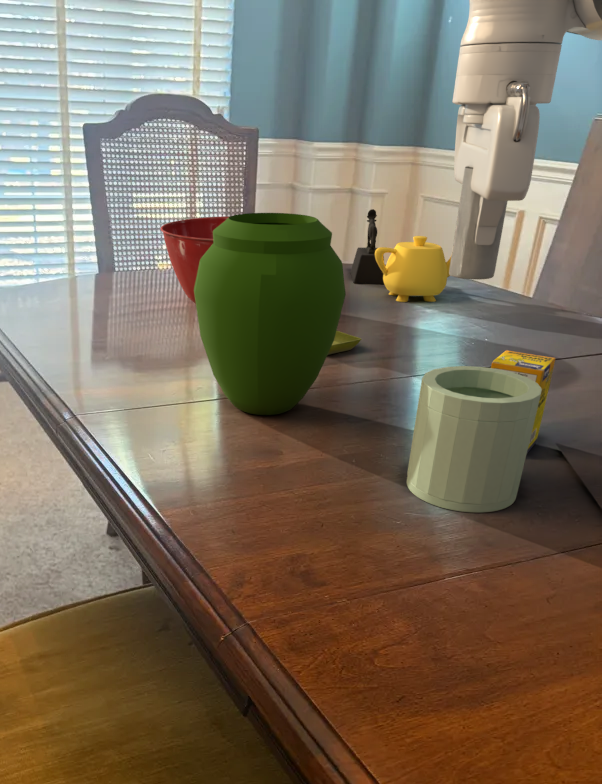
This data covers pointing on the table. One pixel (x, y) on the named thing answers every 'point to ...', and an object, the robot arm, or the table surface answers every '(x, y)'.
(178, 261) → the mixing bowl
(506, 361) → the supplement box
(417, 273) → the teapot
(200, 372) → the table surface
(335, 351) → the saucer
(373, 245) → the sculpture
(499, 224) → the grey cylinder
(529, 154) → the robot arm
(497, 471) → the jar
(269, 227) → the vase
